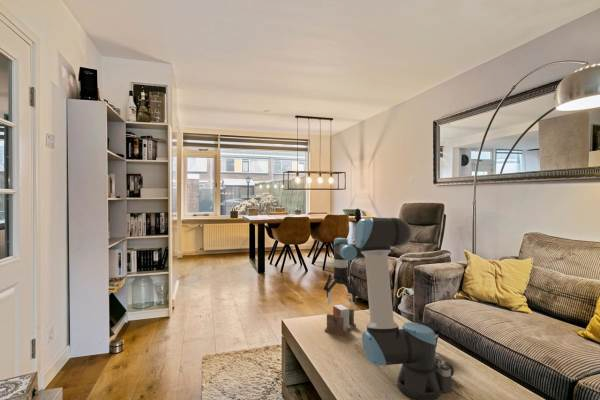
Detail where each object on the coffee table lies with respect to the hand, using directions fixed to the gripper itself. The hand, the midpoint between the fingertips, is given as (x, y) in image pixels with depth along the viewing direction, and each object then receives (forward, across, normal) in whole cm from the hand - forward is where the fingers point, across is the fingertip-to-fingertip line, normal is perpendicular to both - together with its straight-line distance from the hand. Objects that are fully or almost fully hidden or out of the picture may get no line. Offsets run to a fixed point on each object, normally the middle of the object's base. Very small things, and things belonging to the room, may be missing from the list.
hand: (340, 305), depth 173 cm
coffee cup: (+14, -44, +2) cm, 47 cm away
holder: (+13, 0, 0) cm, 13 cm away
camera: (+14, -54, +22) cm, 60 cm away
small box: (+12, 0, 0) cm, 12 cm away
